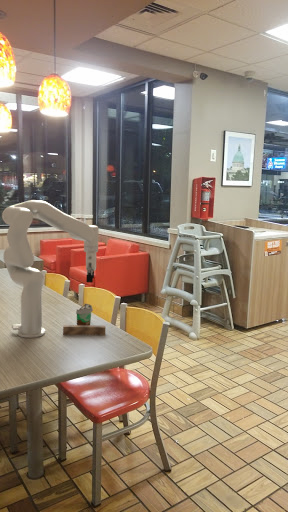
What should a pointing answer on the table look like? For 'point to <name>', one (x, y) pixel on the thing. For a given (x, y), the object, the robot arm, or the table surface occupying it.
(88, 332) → the walnut board
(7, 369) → the table surface
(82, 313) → the food container
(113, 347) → the table surface
